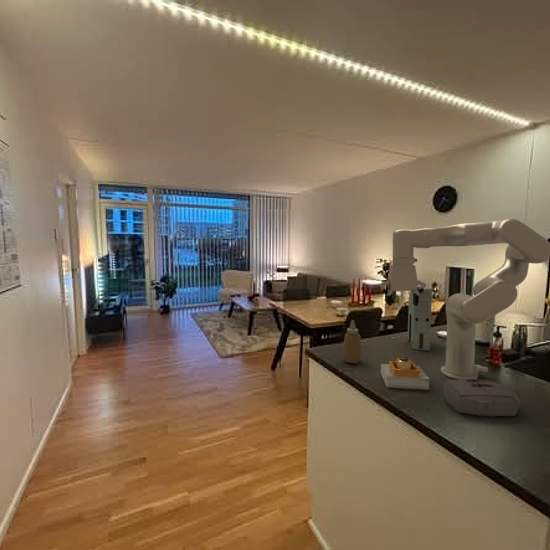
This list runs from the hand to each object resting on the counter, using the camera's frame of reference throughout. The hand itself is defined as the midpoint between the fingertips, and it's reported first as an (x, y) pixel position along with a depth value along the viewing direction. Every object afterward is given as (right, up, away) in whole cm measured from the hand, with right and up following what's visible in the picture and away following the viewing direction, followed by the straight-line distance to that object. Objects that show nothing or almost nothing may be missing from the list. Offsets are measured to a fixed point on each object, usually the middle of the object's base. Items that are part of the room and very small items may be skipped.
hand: (402, 305), depth 121 cm
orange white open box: (-2, -28, -7) cm, 29 cm away
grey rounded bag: (+14, -30, -25) cm, 41 cm away
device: (+23, -24, +36) cm, 49 cm away
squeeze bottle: (-16, -26, +14) cm, 34 cm away
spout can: (-2, -28, -6) cm, 28 cm away
